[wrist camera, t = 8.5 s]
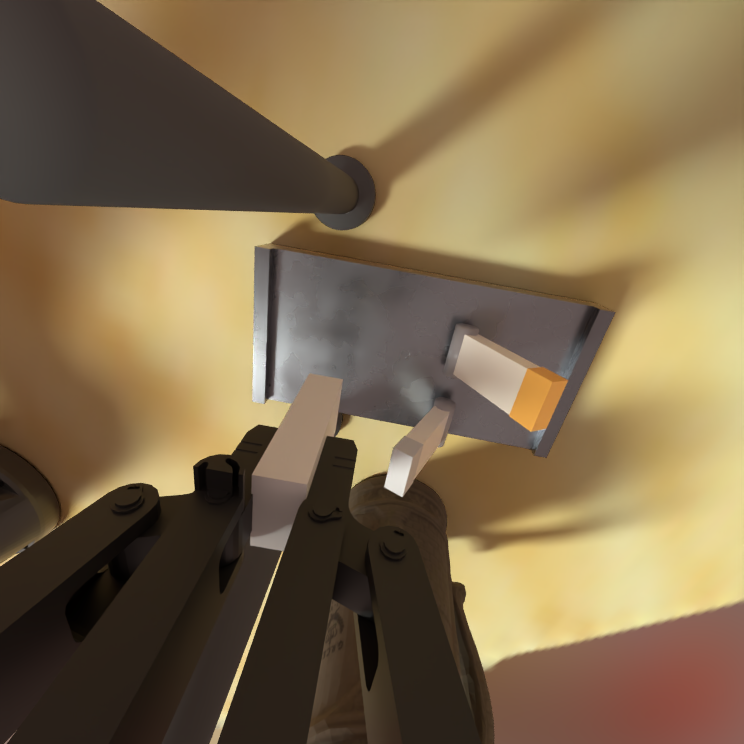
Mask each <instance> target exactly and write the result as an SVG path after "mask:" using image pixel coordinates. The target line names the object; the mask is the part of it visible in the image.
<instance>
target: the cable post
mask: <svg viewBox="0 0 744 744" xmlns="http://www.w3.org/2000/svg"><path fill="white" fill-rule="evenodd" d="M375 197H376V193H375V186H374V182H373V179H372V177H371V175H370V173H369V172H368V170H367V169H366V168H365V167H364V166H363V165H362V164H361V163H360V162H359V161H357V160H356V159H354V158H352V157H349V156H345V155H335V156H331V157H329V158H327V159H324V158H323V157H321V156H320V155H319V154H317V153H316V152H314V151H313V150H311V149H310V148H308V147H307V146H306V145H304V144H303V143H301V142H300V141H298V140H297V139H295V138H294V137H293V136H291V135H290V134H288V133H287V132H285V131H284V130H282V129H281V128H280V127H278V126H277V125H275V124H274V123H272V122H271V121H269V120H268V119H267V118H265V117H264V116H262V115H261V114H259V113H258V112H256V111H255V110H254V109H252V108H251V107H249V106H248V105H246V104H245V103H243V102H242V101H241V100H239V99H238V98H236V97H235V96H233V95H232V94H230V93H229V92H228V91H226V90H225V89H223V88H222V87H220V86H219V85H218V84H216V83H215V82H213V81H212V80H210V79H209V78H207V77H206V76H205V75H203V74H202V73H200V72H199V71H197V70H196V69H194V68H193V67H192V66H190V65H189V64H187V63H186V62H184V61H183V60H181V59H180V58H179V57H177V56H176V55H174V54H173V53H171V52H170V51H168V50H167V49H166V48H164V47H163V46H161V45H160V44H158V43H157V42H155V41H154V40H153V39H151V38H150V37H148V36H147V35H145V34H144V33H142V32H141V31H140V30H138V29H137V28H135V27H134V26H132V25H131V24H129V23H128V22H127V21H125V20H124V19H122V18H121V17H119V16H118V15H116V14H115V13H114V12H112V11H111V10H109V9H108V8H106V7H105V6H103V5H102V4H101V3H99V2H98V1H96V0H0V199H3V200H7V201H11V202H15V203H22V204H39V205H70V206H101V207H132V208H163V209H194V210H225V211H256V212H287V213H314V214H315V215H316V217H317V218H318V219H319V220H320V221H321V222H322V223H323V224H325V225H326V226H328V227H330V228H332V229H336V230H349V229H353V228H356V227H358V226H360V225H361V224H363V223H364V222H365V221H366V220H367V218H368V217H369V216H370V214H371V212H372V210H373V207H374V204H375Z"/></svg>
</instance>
